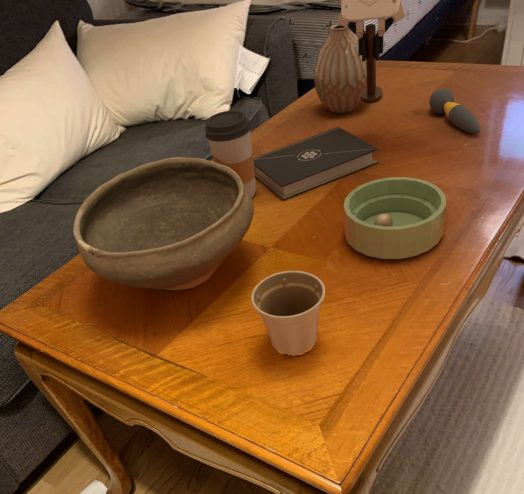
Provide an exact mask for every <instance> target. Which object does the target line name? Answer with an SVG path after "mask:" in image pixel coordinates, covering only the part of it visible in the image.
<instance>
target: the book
mask: <svg viewBox="0 0 524 494" xmlns="http://www.w3.org/2000/svg"><path fill="white" fill-rule="evenodd" d="M377 151H379V148H378V147H376V146H375V145H373V144H371V143H369V142H367V141H365V140H364V139H362V138H360V137H358V136H356V135H354V134H353V133H350V132H349V131H347V130H345V129H343V128H341V127H340V126H337V127H334V128H331V129H328V130H325V131H323V132H320V133H317V134H314V135H311V136H309V137H307V138H304V139H301V140H298V141H296V142H292V143H290V144H288V145H285V146H282V147H280V148H277V149H274V150H272V151H269V152H266V153H263V154H261V155H258V156H255V157H253V160H254V170H255V178H257V179H258V180H259V181H260V182H261V183H263V184H264V185H265V186H266V187H268V189H270V190H271V192H273V193H275V194H276V195H277V196H278V197H279V198H281V199H282V200H283V201H286V200H288V199H291V198H293V197H295V196H298V195H301V194H303V193H306V192H308V191H311V190H314V189H316V188H318V187H321V186H323V185H326V184H328V183H331V182H333V181H336V180H340V179H341V178H344V177H346V176H349V175H351V174H354V173H356V172H359V171H362V170H364V169H367V168H369V167H372V166H374V165H376V164H379V161H378V160H376V159H374V158H373V156H372V155H373V154H372V153H374V152H377Z"/></svg>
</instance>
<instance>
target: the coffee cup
mask: <svg viewBox="0 0 524 494" xmlns="http://www.w3.org/2000/svg"><path fill="white" fill-rule="evenodd" d="M251 129H252V127H251V124H250V120H249V118H248V117H247V115H246V113H245V112H244V111H241V110H238V109H237V110H235V109H234V110H224V111H220V112H217V113H214V114H212V115H210V116H209V117H208V118H207V119H206V120H205V126H204V131H205V138H206V139H207V143H208V145H209V148H210V152H211V154H212V155H211V156H212V161H213V162H216V163H218V164H221V165H225V166H227V167H229V168H231V169H232V170H234V171H235V172H236V173H237V174H238V175H239V177H240V179H241V180H242V182H243V184H244V185H245V186H246V188H247V189H248V191H249V193H250V195H251V197H252V198H254V197H255V194H256V192H257V185H256V176H255V170H254V160H253V158H254V152H253V146H252V145H253V144H252V136H251Z"/></svg>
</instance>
